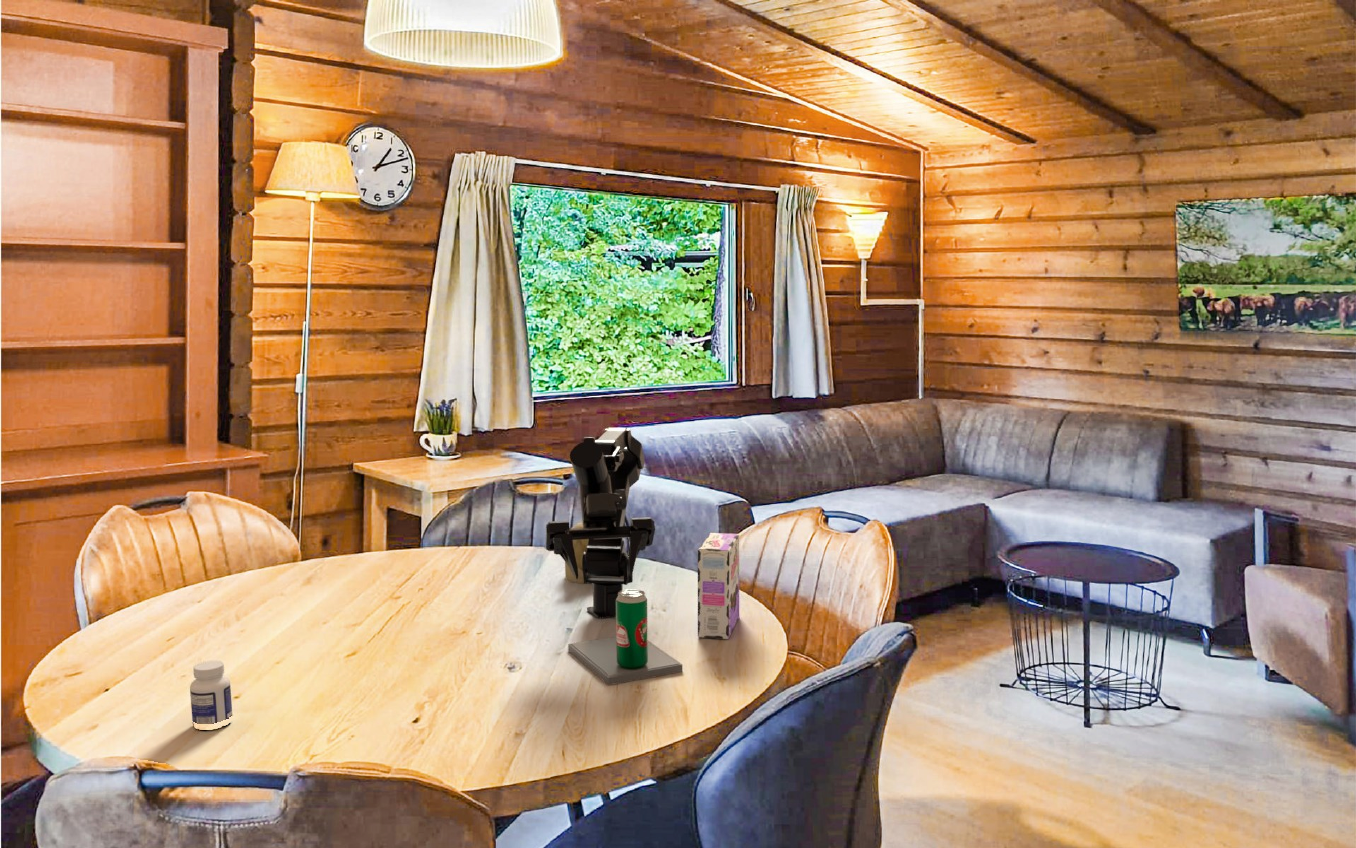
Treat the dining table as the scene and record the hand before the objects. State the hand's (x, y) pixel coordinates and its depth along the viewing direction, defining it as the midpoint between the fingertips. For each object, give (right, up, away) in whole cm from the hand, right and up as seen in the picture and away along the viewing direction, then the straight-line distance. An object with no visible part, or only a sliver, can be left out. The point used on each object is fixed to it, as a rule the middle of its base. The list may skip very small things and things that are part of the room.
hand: (604, 576), depth 177 cm
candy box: (+20, -12, +16) cm, 28 cm away
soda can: (+5, -13, -7) cm, 16 cm away
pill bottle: (-54, -18, -27) cm, 63 cm away
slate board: (+3, -14, -2) cm, 14 cm away
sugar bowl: (-6, -8, +49) cm, 50 cm away
